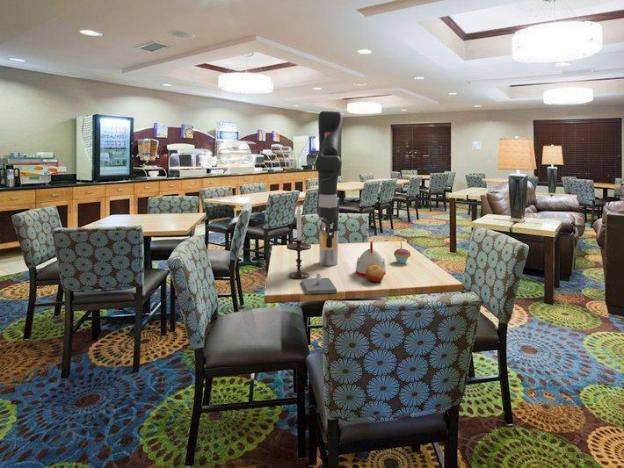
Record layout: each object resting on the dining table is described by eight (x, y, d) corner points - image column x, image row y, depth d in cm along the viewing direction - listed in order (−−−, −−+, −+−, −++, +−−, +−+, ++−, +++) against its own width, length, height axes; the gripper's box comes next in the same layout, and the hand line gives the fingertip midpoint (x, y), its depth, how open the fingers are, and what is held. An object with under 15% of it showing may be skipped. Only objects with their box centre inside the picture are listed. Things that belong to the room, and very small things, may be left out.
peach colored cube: (319, 247, 181) (319, 233, 180) (332, 246, 182) (332, 232, 181) (322, 249, 175) (322, 235, 174) (335, 249, 176) (335, 235, 175)
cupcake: (390, 260, 225) (391, 238, 223) (404, 259, 228) (406, 237, 225) (398, 264, 217) (399, 241, 215) (413, 263, 220) (414, 240, 217)
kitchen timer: (384, 269, 208) (385, 239, 205) (386, 278, 195) (387, 245, 192) (355, 268, 210) (356, 238, 207) (355, 277, 196) (356, 245, 193)
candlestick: (308, 280, 190) (308, 201, 184) (284, 279, 192) (283, 201, 186) (312, 273, 201) (313, 198, 194) (290, 272, 203) (289, 198, 196)
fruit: (381, 274, 196) (383, 261, 191) (383, 287, 190) (386, 275, 185) (363, 274, 196) (365, 261, 190) (365, 287, 190) (367, 275, 184)
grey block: (301, 282, 188) (301, 268, 187) (328, 281, 190) (328, 267, 189) (307, 294, 172) (307, 279, 171) (336, 292, 174) (336, 278, 173)
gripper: (315, 203, 181) (315, 242, 185) (322, 207, 168) (322, 250, 171) (332, 203, 183) (332, 242, 186) (341, 207, 169) (340, 249, 172)
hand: (327, 245), depth 178 cm, fingers closed on peach colored cube, 5 cm apart
